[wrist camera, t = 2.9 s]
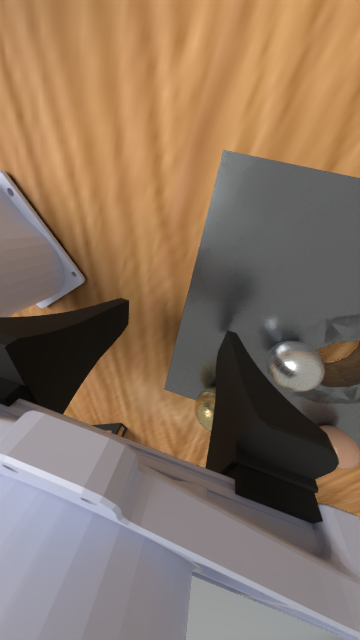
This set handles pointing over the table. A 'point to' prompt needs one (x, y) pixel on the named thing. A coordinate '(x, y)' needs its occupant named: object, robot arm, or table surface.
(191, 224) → the table surface
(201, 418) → the brass ball
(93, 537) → the robot arm
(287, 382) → the steel ball
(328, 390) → the hole plate
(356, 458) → the terracotta ball
